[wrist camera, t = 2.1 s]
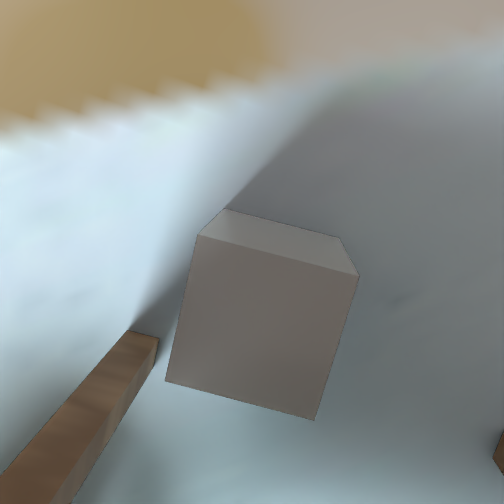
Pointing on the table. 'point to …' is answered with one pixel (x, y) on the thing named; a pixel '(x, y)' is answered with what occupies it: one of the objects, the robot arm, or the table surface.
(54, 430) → the frame
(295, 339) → the cube
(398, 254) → the table surface
